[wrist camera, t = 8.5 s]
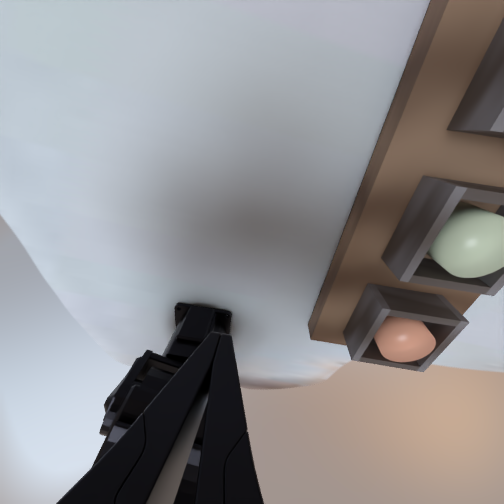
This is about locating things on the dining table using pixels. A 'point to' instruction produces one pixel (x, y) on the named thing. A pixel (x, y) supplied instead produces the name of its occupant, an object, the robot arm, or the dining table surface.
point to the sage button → (470, 242)
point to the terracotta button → (404, 339)
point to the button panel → (423, 188)
